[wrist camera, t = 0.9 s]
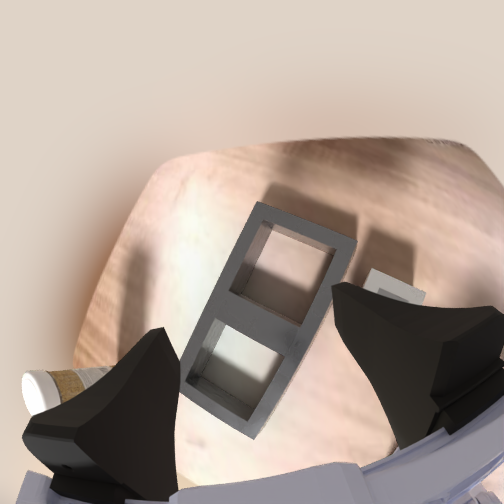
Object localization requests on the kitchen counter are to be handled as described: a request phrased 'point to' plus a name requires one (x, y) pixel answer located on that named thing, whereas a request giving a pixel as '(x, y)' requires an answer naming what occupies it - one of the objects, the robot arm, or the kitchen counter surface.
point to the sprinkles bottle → (57, 386)
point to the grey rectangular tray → (260, 317)
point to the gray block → (392, 288)
